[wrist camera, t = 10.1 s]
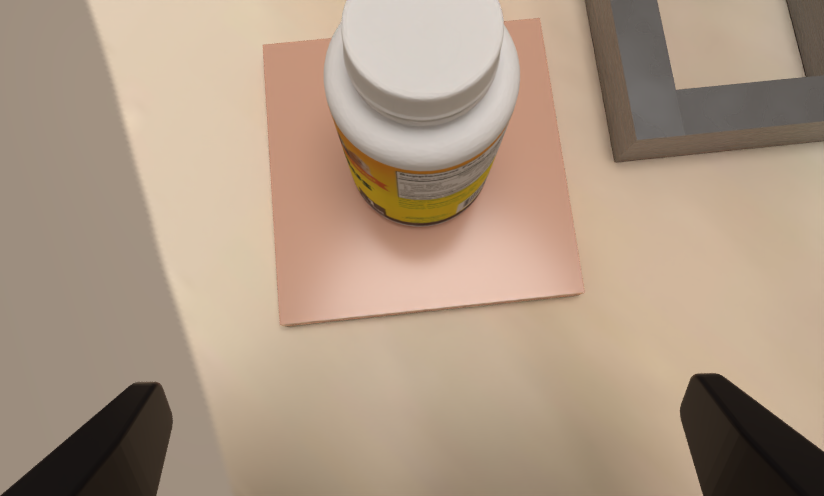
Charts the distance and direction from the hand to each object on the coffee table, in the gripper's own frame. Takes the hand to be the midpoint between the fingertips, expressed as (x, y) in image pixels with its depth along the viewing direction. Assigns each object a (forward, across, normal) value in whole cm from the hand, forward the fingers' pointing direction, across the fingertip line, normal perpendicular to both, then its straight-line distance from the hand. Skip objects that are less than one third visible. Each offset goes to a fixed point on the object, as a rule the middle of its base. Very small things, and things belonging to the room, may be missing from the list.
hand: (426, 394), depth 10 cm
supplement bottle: (+15, 0, +3) cm, 15 cm away
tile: (+16, 0, +4) cm, 16 cm away
